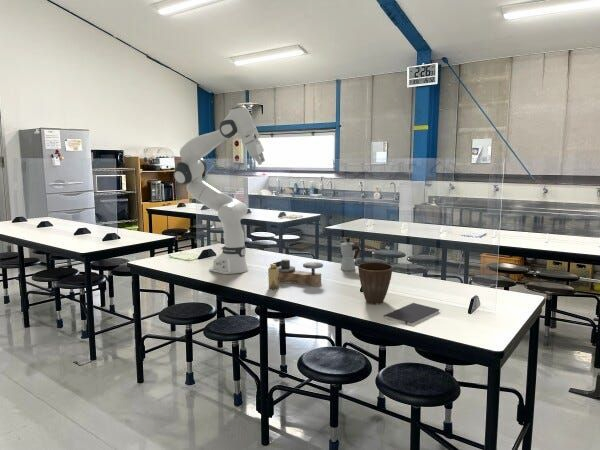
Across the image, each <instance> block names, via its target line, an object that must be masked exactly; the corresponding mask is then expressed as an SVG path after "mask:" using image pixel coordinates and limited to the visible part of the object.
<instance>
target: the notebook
mask: <svg viewBox="0 0 600 450" xmlns="http://www.w3.org/2000/svg"><path fill="white" fill-rule="evenodd" d="M439 312H440V309H439V308H436V307H431V306H429V305H428V306H427V305H425V304H424V305H423V304H419V303H415V302H412V303H409V304H407V305H405V306H403V307H400V308H398V309H396V310H393V311H391V312H387V313H385V314H384V315H383V318H384V317H385V319H388V320H391V321H394V322H398V323H401V324H405V325H408V326H414V325H416V324H419V323H420V322H422V321H424V320H426V319H428V318H430V317H432V316H435V315H437V314H438V313H439Z"/></svg>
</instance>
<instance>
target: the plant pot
mask: <svg viewBox="0 0 600 450" xmlns="http://www.w3.org/2000/svg"><path fill="white" fill-rule="evenodd" d="M357 268H358V275H359V277H358V278H359V281H360V286H361V290H362V293H363V296H364V299H365V302H366V303H367V304H371V305H380V304H383V302H384V301H385V298H386V296H387V293H388V291H389V290H388V289H389V286H390V283H391V280H392V273H393V269H394V268H393V265H391V264H389V263H385V262H373V261H372V262H364V263H360V264H358V265H357Z"/></svg>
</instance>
